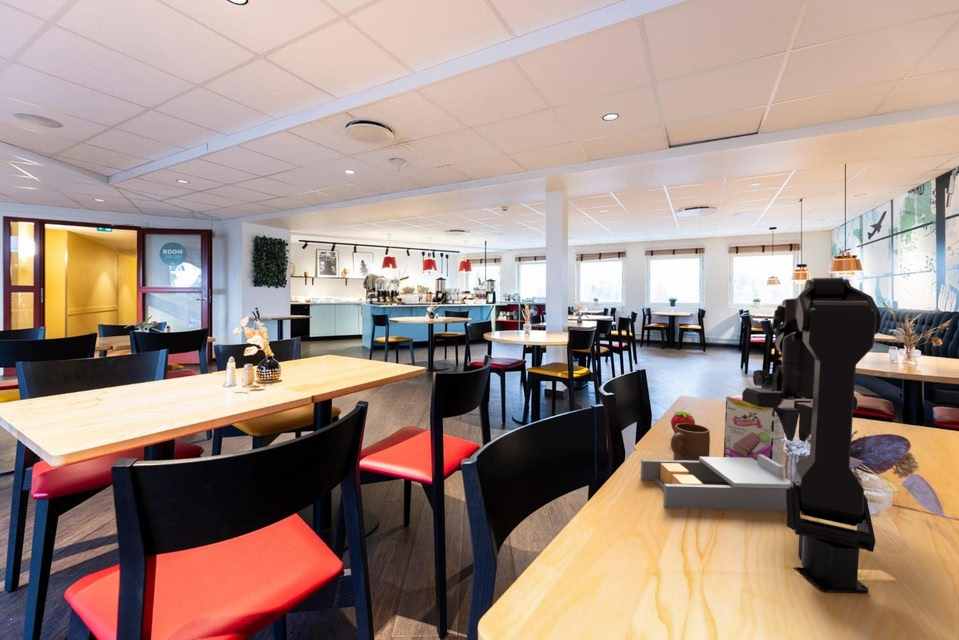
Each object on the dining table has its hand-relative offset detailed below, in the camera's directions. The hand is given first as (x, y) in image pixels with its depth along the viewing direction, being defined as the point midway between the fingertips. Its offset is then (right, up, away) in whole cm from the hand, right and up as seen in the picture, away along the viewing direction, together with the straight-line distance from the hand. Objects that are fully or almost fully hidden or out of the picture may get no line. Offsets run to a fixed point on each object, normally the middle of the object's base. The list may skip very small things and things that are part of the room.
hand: (795, 440), depth 81 cm
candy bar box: (+2, -12, +16) cm, 20 cm away
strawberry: (-6, -11, +34) cm, 36 cm away
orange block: (-23, -11, -2) cm, 25 cm away
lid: (-10, -7, +1) cm, 12 cm away
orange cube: (-22, -11, +4) cm, 25 cm away
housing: (-16, -12, +1) cm, 20 cm away
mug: (-14, -11, +15) cm, 24 cm away
